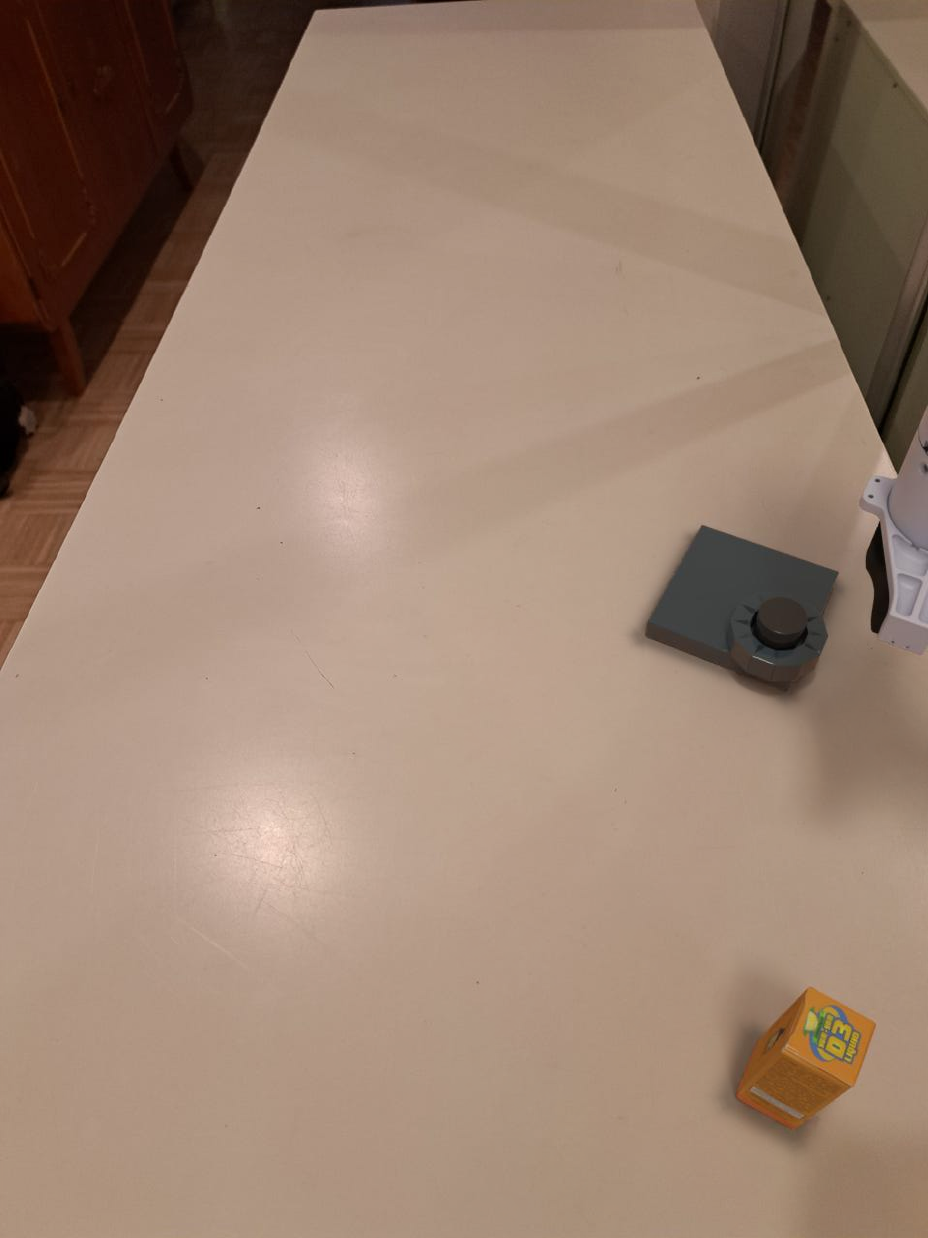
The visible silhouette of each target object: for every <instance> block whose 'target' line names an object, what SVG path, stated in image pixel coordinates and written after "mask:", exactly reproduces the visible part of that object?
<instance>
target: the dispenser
mask: <svg viewBox="0 0 928 1238" xmlns="http://www.w3.org/2000/svg"><path fill="white" fill-rule="evenodd" d="M839 574H840V571H838V570H835V569H833V568H830V567H826V566H824V565H821V564H818V563H815V562H812V561H809V560H807V559H803V558H800V557H798V556H794V555H793V554H792V555H791V554H789V553H786V552H783V551H780V550H777V549H774V548H771V547H768V546H766V545H763V544H759V543H757V542H754V541H751V540H748V539H745V538H742V537H740V536H736V535H733V534H731V533H727V532H725V531H722V530H719V529H716V528H713V527H710V526H707V525H705V524H701V525H700V527H699V529H698V531H697V533H696V534H695V536H694V538H693V540H692V541H691V543H690V545H689V547H688V548H687V550H686V551H685V553H684V556H683V557H682V559H681V561H680V563H679V565H678V566H677V568H676V570H675V572H674V573H673V576H672V577H671V578H670V580H669V582H668V584H667V586H666V588H665V590H664V591H663V593H662V595H661V597H660V598H659V600H658V602H657V604H656V606H655V608H654V609H653V611H652V613H651V615H650V616H649V618H648V620H647V623H646V628H645V629H646V631H645V636H646V637H647V638H649V639H652V640H654V641H657V642H659V643H662V644H665V645H667V646H670V647H673V648H674V649H677V650H680V651H683V652H685V653H688V654H690V655H693V656H695V657H698V658H699V659H702V660H705V661H707V662H710V663H713V664H716V665H718V666H720V667H723V668H726V669H728V670H731V671H733V672H735V673H738V674H740V675H744V676H745V677H748V678H751V679H753V680H756V681H759V682H761V683H763V684H766V685H769V686H771V687H774V688H776V689H778V690H782V691H783V692H787V693H788V692H790V689H791V687H792V684H793V682H794V681H797V680H799V679H801V678H802V677H804V676H806V675H808V674H810V673H811V672H813V671H814V670H815V669H816V667H817V664H818V662H819V660H820V657H821V655H822V653H823V650H824V648H825V646H826V643H827V640H828V638H829V634H828V630H827V627H826V624H825V620H824V617H823V616H822V615H823V612H824V610H825V608H826V605H827V603H828V601H829V598H830V596H831V594H832V592H833V590H834V586H835V584H836V582H837V579H838V576H839ZM774 597H786V598H789V599H792V600H794V601H796V602H798V603H799V604H800V605H801V606H802V607H803V608H804V609H805V611H806V613H807V617H808V621H807V624H806V627H805V630H804V632H803V635H802V638H801V640H800V642H799V643H798V644H797V645H796V646H794V647H793V648H790V649H787V650H776V649H772V648H769V647H767V646H765V645H764V644H762V643H761V642H760V641H759V640H758V639H757V637H756V635H755V633H754V624H755V621H756V617H757V614H758V611H759V608H760V606H761V605H762V603H763V602H765V601H766V600H768V599H770V598H774Z"/></svg>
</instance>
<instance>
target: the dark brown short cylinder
mask: <svg viewBox="0 0 928 1238" xmlns="http://www.w3.org/2000/svg"><path fill="white" fill-rule="evenodd" d="M807 621H808V617H807V613H806V611H805V609H804V608H803V607H802V606H801V605H800V604H799V603H798V602H796V601H794V600H792V599H789V598H786V597H774V598H770V599H768V600H766V601H765V602H763V603H762V605H761V606H760V608H759V611H758V614H757V617H756V621H755V624H754V633H755V635H756V637H757V639H758V640H759V641H760V642H761V643H762V644H764V645H765V646H767V647H769V648H772V649H776V650H787V649H790V648H793V647H794V646H796V645H797V644H798V643H799V642H800V640H801V638H802V635H803V632H804V630H805V627H806V624H807Z"/></svg>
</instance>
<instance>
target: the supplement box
mask: <svg viewBox="0 0 928 1238" xmlns="http://www.w3.org/2000/svg"><path fill="white" fill-rule="evenodd" d="M876 1027H877V1023H876V1021H873V1020H871V1019H870V1018H868V1017H866V1016H865V1015H863V1014H861V1012H858V1011H856V1010H854V1009H853V1008H851V1007H849V1006H847V1005H845V1004H843V1003H842V1002H840V1001H837V1000H836V999H834V998H832V997H831V996H829V995H827V994H825V993H823V992H822V991H819V990H818V989H816V988H814V987H812V986H808V987H807V988H806V989H805V990H804V991H803V992H802V993H801V994H800V995H799V996H798V997H797V998H796V1000H795V1001H794V1002H793V1003H792V1004H791V1005H790V1006H789V1007H788V1008H787V1009H786V1010H785V1011H784V1012H783V1013H782V1014H781V1015H780V1016H779V1017H778V1018H777V1019H776V1020H775V1021H774V1022H773V1023H772V1025H771V1026H770V1027H769V1028H768V1029H767V1030H766V1031H765V1032H764V1033H763V1035H762V1036H760V1038H759V1039H758V1040H757V1041H756V1043H755V1046H754V1048H753V1050H752V1053H751V1055H750V1057H749V1059H748V1062H747V1064H746V1067H745V1070H744V1072H743V1074H742V1077H741V1079H740V1083H739V1084H738V1087H737V1091H736V1092H735V1093H736V1094H735V1096H736V1098H737V1099H738V1100H740V1101H741V1102H743V1103H745V1104H746V1105H748V1106H750V1107H752V1108H753V1109H755V1110H757V1111H759V1112H760V1113H763V1114H764V1115H766V1116H768V1117H770V1119H773V1120H775V1121H776V1122H779V1123H781V1124H782V1125H784V1126H786V1127H787V1128H789V1129H791V1130H793V1131H794V1130H796V1129H798V1128H799V1126H801V1125H802V1124H803V1123H805V1122H807V1121H808V1120H809V1119H810V1118H812V1117H813V1116H814V1115H816V1114H818V1113H819V1112H820V1111H822V1110H823V1109H824V1108H826V1107H827V1106H829V1105H830V1104H831V1103H833V1102H834V1101H836V1099H838V1098H839V1097H840V1096H842V1095H843V1094H844V1093H846V1092H847V1091H849V1090H850V1089H851V1088H854V1087H855V1086H856V1084H857V1080H858V1078H859V1075H860V1072H861V1069H862V1067H863V1064H864V1061H865V1058H866V1057H867V1053H868V1050H869V1047H870V1044H871V1041H872V1038H873V1035H874V1032H875V1030H876Z"/></svg>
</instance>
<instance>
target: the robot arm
mask: <svg viewBox="0 0 928 1238" xmlns="http://www.w3.org/2000/svg"><path fill="white" fill-rule="evenodd" d="M915 431H916V432H915V433H914V435H913V439H912V441H911V443H910V446H909V448H908V451H907V453H906V455H905V457H904V460H903V462H902V465H901V467H900V469H899V472H898V474H897V475H896V478H895V477H893V478H891V477H886V476H884V475H878V474H877V475H876V474H875V475H873V476H870V478H868V480H867V483H866V485H865V486H864V488H863V491H862V494H861V496H860V498H859V502H858V505H859V507H860V509H861V510H862V511H864V512H866V513H869V514H872V515H875V516H876V517H877V518H878V519H879V521H878V522H877V526H876V528H875V531H874V533H873V535H872V538H871V540H870V543H869V545H868V547H867V550H866V553H865V570H866V571H867V574H868V575H869V577H870V580H871V582H872V588H873V597H872V598H873V599H872V604H871V605H872V606H871V611H870V612H871V613H870V631H871V632H872V633H874V634H876V635H877V636H876V639H877V640H879V641H881V642H884V643H887V644H890V645H891V646H894V647H896V648H899V649H902V650H905V651H908V652H911V653H914V654H917V655H919V656H921V655H922V656H923V654H924V653H925V651H926V650H927V647H928V405H927V406H926V407H925V410H924V413H923V414H922V417H921V420H920V422H919V425H918V427H917V430H915Z"/></svg>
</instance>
